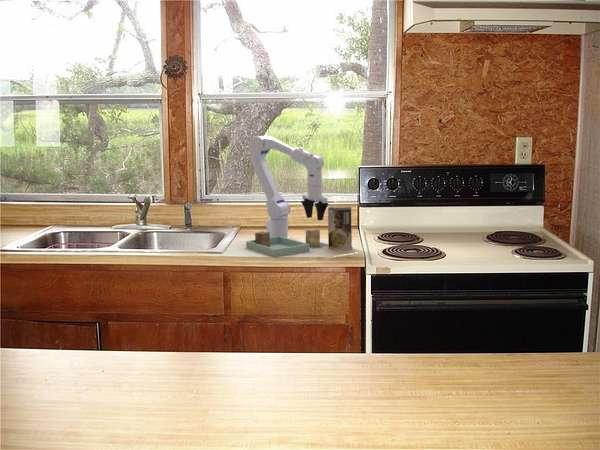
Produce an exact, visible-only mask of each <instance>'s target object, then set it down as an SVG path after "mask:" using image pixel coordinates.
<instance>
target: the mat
mask: <svg viewBox="0 0 600 450" xmlns="http://www.w3.org/2000/svg"><path fill="white" fill-rule="evenodd" d="M323 247H328V243H325V242H321V241H320V245H317V246H310V249H317V248H318V249H319V248H323Z"/></svg>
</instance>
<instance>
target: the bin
mask: <svg viewBox="0 0 600 450" xmlns="http://www.w3.org/2000/svg"><path fill="white" fill-rule="evenodd" d="M289 238H290V237H289ZM289 238H285V237H281V236H278V237H272V238H270V247H267V246H263V245H260V244H257V243H255V239H252V240H246V244H245V245H246V246H245V247H246V249H249V250H252V251H254V252H255V251H256V252H259V253H261V254H265V255H269V256H271V257H274V258H275V257H279V256H280V257H281V256H287V255H292V254H298V253H305V252H310V249H311V248H310V244H307V243H306V242H304V241H299V240H296V239H293V238H292V239H289Z"/></svg>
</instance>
